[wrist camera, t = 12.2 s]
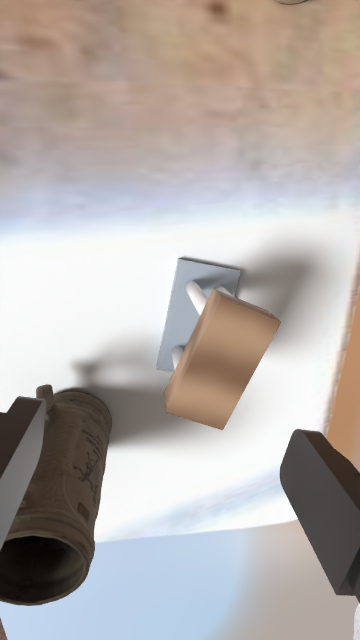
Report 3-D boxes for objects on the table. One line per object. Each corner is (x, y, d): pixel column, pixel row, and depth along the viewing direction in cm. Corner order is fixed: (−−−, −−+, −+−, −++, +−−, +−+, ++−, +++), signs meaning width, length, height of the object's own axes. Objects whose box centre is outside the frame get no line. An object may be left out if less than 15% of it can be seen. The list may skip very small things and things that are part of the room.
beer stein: (126, 438, 48) (115, 585, 29) (60, 466, 48) (7, 628, 30) (76, 352, 43) (23, 461, 24) (3, 383, 43) (-106, 515, 25)
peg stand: (178, 258, 41) (189, 274, 30) (238, 270, 42) (269, 289, 31) (156, 366, 45) (160, 412, 34) (212, 373, 46) (231, 420, 36)
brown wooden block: (213, 288, 31) (221, 297, 28) (267, 310, 32) (281, 322, 29) (164, 392, 34) (166, 412, 30) (215, 409, 35) (222, 430, 32)
